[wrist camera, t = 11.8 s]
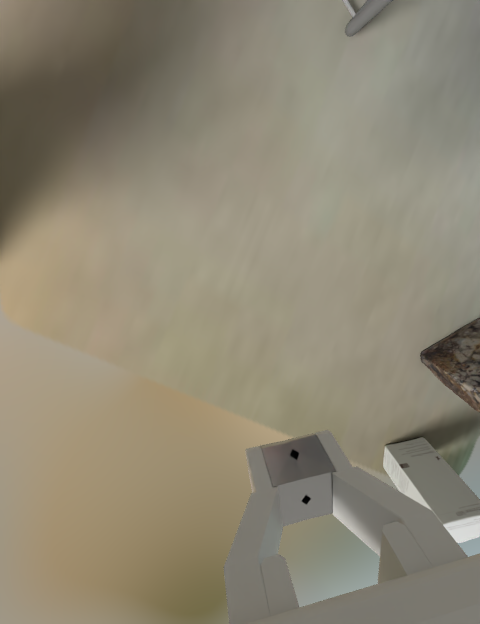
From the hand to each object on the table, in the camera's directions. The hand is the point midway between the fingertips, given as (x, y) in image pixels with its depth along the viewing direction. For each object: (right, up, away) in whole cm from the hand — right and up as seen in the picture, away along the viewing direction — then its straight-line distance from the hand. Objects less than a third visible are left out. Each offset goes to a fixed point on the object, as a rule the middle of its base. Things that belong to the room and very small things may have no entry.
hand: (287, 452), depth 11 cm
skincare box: (+29, -22, +48) cm, 60 cm away
